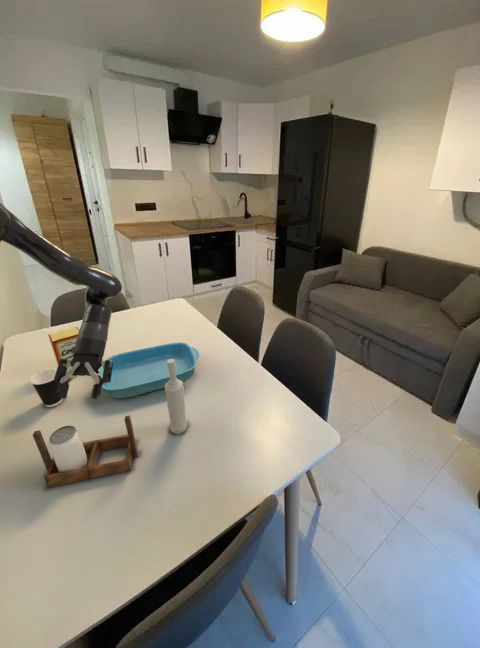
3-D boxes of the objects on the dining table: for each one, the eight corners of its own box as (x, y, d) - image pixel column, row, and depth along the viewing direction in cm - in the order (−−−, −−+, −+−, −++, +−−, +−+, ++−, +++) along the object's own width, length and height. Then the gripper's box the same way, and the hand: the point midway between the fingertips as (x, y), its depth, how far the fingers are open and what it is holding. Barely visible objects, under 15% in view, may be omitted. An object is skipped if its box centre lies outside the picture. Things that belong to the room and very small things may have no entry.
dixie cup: (71, 401, 99) (62, 375, 94) (43, 414, 93) (33, 387, 89) (63, 390, 103) (54, 365, 99) (36, 402, 98) (26, 376, 93)
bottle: (188, 420, 93) (181, 354, 82) (187, 433, 88) (179, 365, 78) (171, 422, 92) (162, 356, 82) (169, 435, 87) (159, 367, 77)
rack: (42, 488, 72) (24, 448, 66) (55, 456, 80) (41, 418, 74) (135, 469, 77) (127, 430, 71) (139, 441, 85) (132, 404, 79)
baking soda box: (85, 359, 120) (76, 325, 114) (90, 366, 116) (81, 332, 109) (58, 368, 114) (47, 333, 108) (62, 376, 110) (51, 340, 103)
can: (71, 482, 73) (59, 449, 68) (53, 473, 75) (40, 440, 70) (93, 461, 79) (83, 428, 74) (76, 453, 81) (65, 421, 76)
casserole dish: (96, 411, 95) (91, 394, 92) (99, 372, 113) (95, 357, 110) (206, 382, 109) (205, 367, 106) (193, 352, 128) (192, 338, 125)
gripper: (59, 336, 80) (42, 397, 74) (110, 337, 80) (97, 398, 75) (74, 342, 87) (60, 398, 81) (122, 343, 87) (111, 399, 82)
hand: (78, 398), depth 78 cm, fingers open, 8 cm apart
